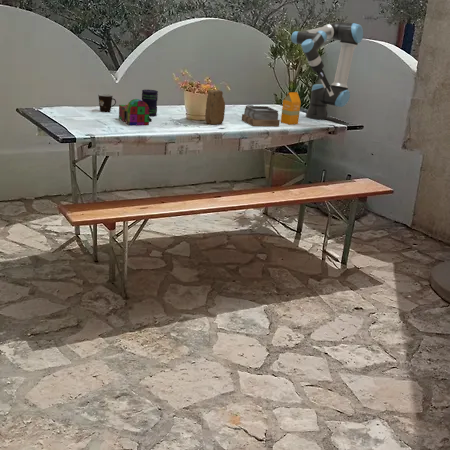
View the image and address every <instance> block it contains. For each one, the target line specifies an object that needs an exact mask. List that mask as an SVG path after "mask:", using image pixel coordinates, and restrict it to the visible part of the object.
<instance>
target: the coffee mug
mask: <svg viewBox="0 0 450 450" xmlns="http://www.w3.org/2000/svg"><path fill="white" fill-rule="evenodd" d="M113 95H114V94H113ZM113 95H112V94H110V93H108V94H107V93H99V94H98V105H99V106H98V107H99V112H100V113H110V112H111V111H112V108H113V107H114V106H116V104H117V100H116V99H115V98H113ZM113 100H114V103H113V102H112V101H113ZM112 103H113V105H112Z"/></svg>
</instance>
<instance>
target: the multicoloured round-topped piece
mask: <svg viewBox="0 0 450 450" xmlns="http://www.w3.org/2000/svg"><path fill="white" fill-rule="evenodd" d="M118 119H119V120H121V122H123V123H125V124H126V125H128V126H129V127H130V126H149V125H150V123H151V122H152V121H153V120H152V118H151V117H149V107H148V105H147V104H146V103H145V102H143V101H142V99H139V98H135V99H134V98H133V99H131V100H130V101H129V102H128V103H127V104H119V105H118Z"/></svg>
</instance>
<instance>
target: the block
mask: <svg viewBox="0 0 450 450" xmlns="http://www.w3.org/2000/svg"><path fill="white" fill-rule="evenodd" d="M223 94H224V93H223V91H222V90H218V89H211V90H208V92H207V97H206V101H205V104H206V105H205V111H204V112H205V116H204V121H205V122H206V123H207V124H208V125H222V124H223V121H224V119H225V113H226V102H225V99H224V97H223V96H224V95H223Z"/></svg>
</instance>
